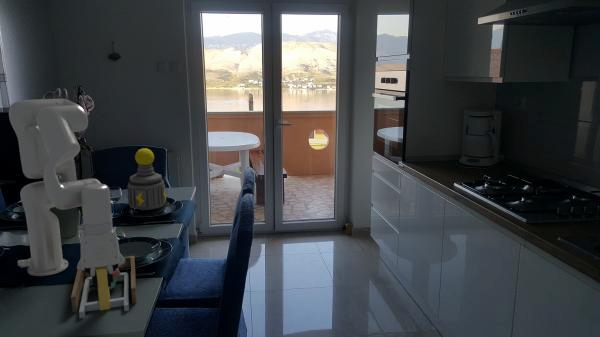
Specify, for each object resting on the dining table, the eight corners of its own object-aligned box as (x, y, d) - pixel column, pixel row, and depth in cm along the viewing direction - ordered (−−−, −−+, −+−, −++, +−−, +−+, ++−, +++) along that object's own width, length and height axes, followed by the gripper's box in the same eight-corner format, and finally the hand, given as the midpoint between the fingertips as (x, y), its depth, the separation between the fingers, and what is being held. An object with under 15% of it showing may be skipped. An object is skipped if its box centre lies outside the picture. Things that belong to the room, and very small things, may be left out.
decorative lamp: (160, 211, 226) (156, 152, 219) (122, 210, 226) (117, 151, 220) (171, 200, 244) (168, 145, 238) (136, 199, 245) (132, 144, 238)
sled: (79, 318, 130) (75, 276, 127) (86, 283, 150) (82, 246, 148) (128, 310, 134) (125, 270, 131) (128, 277, 155) (126, 242, 152)
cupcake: (103, 295, 143) (100, 260, 140) (87, 288, 147) (83, 254, 145) (126, 285, 150) (124, 251, 147) (110, 278, 154) (107, 245, 152)
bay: (72, 312, 133) (70, 297, 132) (80, 276, 156) (79, 262, 155) (136, 302, 139) (135, 287, 138) (135, 269, 162) (134, 255, 161)
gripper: (65, 234, 124) (71, 296, 128) (128, 228, 130) (132, 287, 134) (68, 225, 131) (74, 284, 135) (128, 220, 137) (132, 276, 141)
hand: (103, 285), depth 134 cm, fingers closed on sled, 2 cm apart
